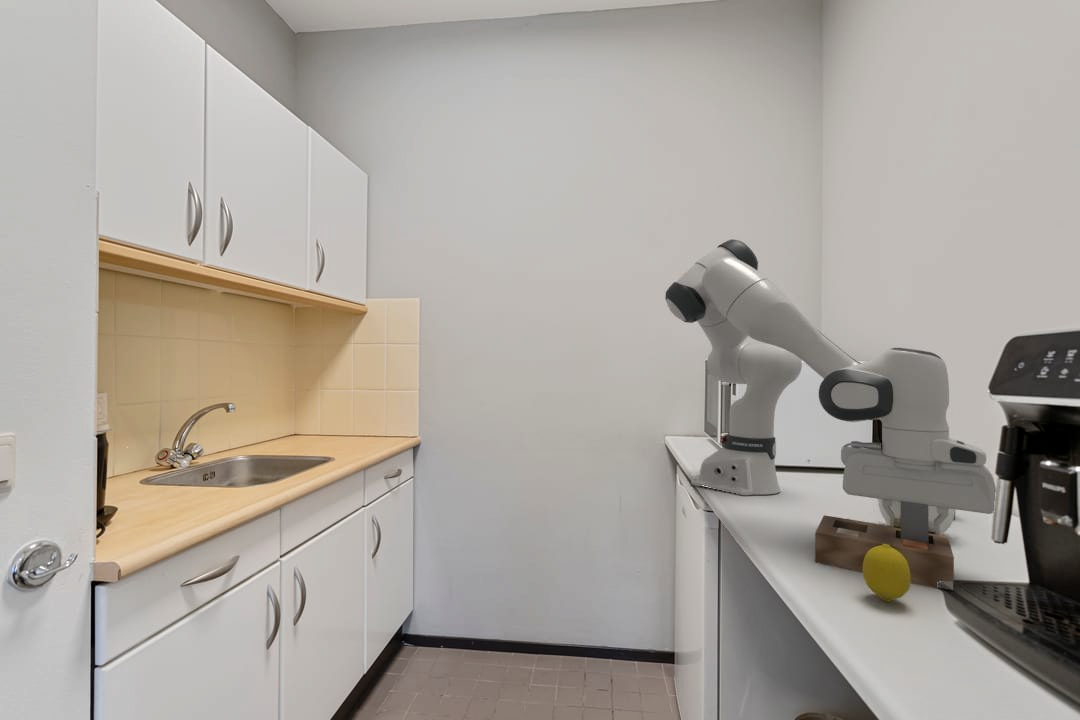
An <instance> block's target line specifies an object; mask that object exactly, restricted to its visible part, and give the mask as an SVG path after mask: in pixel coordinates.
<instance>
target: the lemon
mask: <svg viewBox="0 0 1080 720" xmlns="http://www.w3.org/2000/svg"><path fill="white" fill-rule="evenodd" d="M862 576H863V579H864V583H865V584H866V586H867V587H868V588H869V589H870V591H871V592H872V593H874V594H875V595H877V596H878V597H880V598H881V600H882V601H884V602H887V603H888V602H890V601H892V600H895V599H896V600H897V599H900V598H902V597H903V596H905V594H907V593H908V591H909V589H910V586H911V582H910V580H911V578H910V570H909V566H908V563H907V561H906V559H905V558H904V557H903V555H902V554H901V553H900V552H898V551H897V550H895V549H894V548H891V547H890V546H889V545H888V544H883V545H882V546H876V547H873V548H872V549H870V550H869V551H868V552H867V553H866V555H865V558H864V561H863V572H862Z"/></svg>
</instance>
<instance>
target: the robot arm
mask: <svg viewBox="0 0 1080 720" xmlns="http://www.w3.org/2000/svg"><path fill="white" fill-rule="evenodd" d="M758 268H759V261H758V259H757V256H756V254H755V253H754V251H753V249H751V248H750V247H749V246H748V245H747V244H746V243H745V242H743V241H741V240H740V239H739V240H737V239H732V238H731V239H728V240H726V241H724V242H722V243H721V244H719V245H718V246H717V248H715V249H714V250H711V251H710V252H709V253H707V254H706V255H704V256H703V257H702V258H700V259H699V260H697V261H696V262H695V263H694V265H692V266H691V267H690V268H689V269H687V271H685V272H684V274H682V275H681V277H679V278H678V279H677V281H674V282H673V283H672V284H670V286H669V287H668V289H667V290H666V291H665V297H664V298H665V302H666V305H667V307H668V308H669V311H670V312H671V314H673V316H675V317H676V318H677V319H679V320H681V321H682V322H684V323H689V324H693V323H695V322H697V324H698V325H699V326H700V328H701V329H702V330H703V332H704V334H705V336H706V337H707V339H708V341H709V343H710V345H711V348H712V350H711V351H710V352H709V354H708V356H707V361H706V368H707V371H708V374H709V375H710V377H711V378H712V379H714V380H716V381H719V382H723V383H727V384H729V385H730V384H732V385H733V384H735V385H746V389H745V391H744V394H743V396H742V397H741V398H739V399H737V400H735V401H734V402H733V403H732V404H731V405H730V407H729V411H728V412H729V416H728V417H729V428H728V429H729V431H728V433H726V434H724V435H723V436H722V437H721V438H720V443H721V446H722V447H721V448H719V449H718V450H716V451H715V452H714V453H712V454H711V455H709V456H708V457H706V458H705V459H704V460H703V461H702V463H701V465H700V469H699V474H698V475H695V476H692V478H691V479H690V483H691V485H692V486H695V487H700V486H702V485H704V486H708V487H711V488H715V489H719V490H723V491H722V492H724V491H726V492H725V493H729V492H731V494H734V493H736V494H735V495H739V494H740V496H753V495H773V494H778V493H780V492H781V489H780V485H779V482H778V477H777V471H776V463H775V459H776V455H777V441H776V437H775V436H774V435H775V411H776V407H777V404H778V400H779V399H780V396H781V395H782V394H783V391H785V389H786V388H787V387H788V386H789V385H791V384H792V383H794V382H795V381H796V380H797V379H798V378H799V376H800V374H801V372H802V367H803V366H802V365H803V362H804V363H805V364H806V365H807V366H808V367H810V368H811V369H812V370H813V371H814V372H815V373H816V374H818V375H819V376H820V377H821V378H823V380H822V381H821V383H820V384H819V388H818V399H819V403H820V405H821V407H822V408H823V409H824V411H825V412H826V413H827V414H828V415H830V416H831V417H833V418H834V419H837V420H840V421H843V422H846V423H847V422H849V423H859V422H864V421H874V420H875V421H877V420H880V422H881V423H882V427H881V429H882V430H881V432H882V433H881V434H882V435H881V441H882V442H870V441H869V442H864V441H863V442H862V441H857V440H856V441H855V440H854V441H851V442H848V443H845V444H844V445H843V446H842V448H841V450H840V460H841V463H842V464H843V465H844V469H843V470H844V471H843V475H842V489H843V491H844V492H845V494H847V495H850V496H855V497H863V498H870V499H871V498H872V499H876V500H878V499H882V506H883V508H884V509H885V511H886V513H887V514H888V516H889V517H890V525H889V526H890V527H893V528H900V529H901V516H897V515H895V514H894V513H893V511H892V509H891V508H890V507H892V501H899V502H901V501H904V502H912V503H919V504H927V505H928V506H935V507H937V513H938V514H939V515H938V516H937V517H936V519H935V520H934V521H930V520H928V533H930V534H936V535H939V524H940V525H941V523H942V522H943V521H944V520H945V519H946V518H947V516H948V508H949V509H955V511H956V510H957V511H965V512H972V513H978V514H979V513H980V514H987V515H991V514H993V513H994V512H993V511H994V501H995V492H996V493H997V488H996V483H995V479H994V477H993V475H992V473H991V471H990V470H989V468H987V467H986V466H985V464H986V463H987V454H986V452H985V450H983V449H982V448H979V447H977V446H974V445H971V444H969V443H965V442H963V441H961V440H957V439H952V438H950V426H949V425H948V422H947V410H948V407H949V405H950V388H949V387H950V385H949V375H948V369H947V365H946V363H945V360H944V359H943V358H941V356H939V355H937V353H934V352H931V351H926V350H919V349H914V348H913V349H912V348H908V347H907V348H906V347H904V348H903V347H893V348H889V349H887V350H886V351H885V352H884V353H882V354H879V355H878V356H876V357H874V358H871V359H869V360H867V361H864V362H859V361H858V360H856V359H854V358H853V357H851V356H850V355H849V354H847V353H846V352H845V351H844V350H843V349H842V348H840V347H839V346H838V345H836V343H834V342H833V341H831V340H830V338H828V337H827V336H826V335H825V334H824V333H822V332H820V331H819V330H818V329H817V328H816V327H814V325H813V324H812V323H811V322H810V321H809V320H808V319H807V318H806V317H805V315H804V314H803V313H802V312H801V311H800V310H799V309H798V308H797V306H796V305H795V304H794V303H793V302H792V301H791V300H790V299H789V297H788V296H787V295H786V294H785V293H784V292H783V291H782V290H781V289H780V288H779V287H778V286H777V285H776V284H775V283H774V282H772V281H771V280H770V279H769V278H768V277H767V276H765V275H764V274H763V273H761V272H760V271H758ZM748 337H749V338H751V339H753V340H755V341H758V342H761V343H749V342H747V341H746V340H747V338H748ZM802 361H803V362H802ZM719 490H718V491H719Z"/></svg>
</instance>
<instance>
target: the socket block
mask: <svg viewBox="0 0 1080 720" xmlns="http://www.w3.org/2000/svg"><path fill="white" fill-rule="evenodd" d="M814 537H815V538H814V540H815V541H814V552H815V553H814V562H815V561H816V562H815V563H818V562H820V563H819V564H822V563H824V564H823V565H827V564H828V566H832V565H833V567H837V568H841V569H842V568H843V569H847V570H851V571H856V572H861V573H863V561H864V558H865V555H866V553H867V552H868V551H869V550H870V549H872V548H873V547H876V546H882V545H883V544H888V545H889V546H890V547H891V548H894V549H895V550H897V551H898V552H900V553H901V554H902V555H903V557H904V558H905V559H906V561H907V563H908V566H909V570H910V578H911V580H910V583H913V584H918V585H922V586H927V587H933V588H935V589H936V588H937V582H939V581H954V582H955V580H954V579H955V566H954V565H955V556H954V553H953V550H952V549H953V548H952V546H951V542H950V540H949V535H948V534H944V533H942V534H939V535H936V534H930V533H928V543H924V542H918V541H912V540H906V539H901V529H900V528H893V527H890V525H889V524H888V525H886V524H880V523H873V522H867V521H863V520H862V521H861V520H858V519H857V520H856V519H850V518H844V517H838V516H837V517H836V516H830V515H825V514H824V515H823V516H822V518H821V520H820V522H819V524H818V526H817V528H816V530H815V533H814ZM937 589H938V588H937Z"/></svg>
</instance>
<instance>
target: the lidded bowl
mask: <svg viewBox="0 0 1080 720" xmlns="http://www.w3.org/2000/svg"><path fill="white" fill-rule="evenodd" d="M877 502H878V508H879V511H880V514H881V517H882V518H883V520H884V521H885V522H886V523H887V524H888V526H890V517H889V516H888V514H887V513H886V511H885V509H884V508H883V506H882V499H877ZM890 508H891V509H892V511H893V513H894V514H895V515H897V516H901V502H899V501H892V507H890ZM954 513H955V514H956V509H949V508H948V516H947V518H946V519H945V520H944V521H943V522H942V523H941V525H940V524H939V534H944V533H945V532H947V531H948V529H949V528H951V526H952V523H953V521H954ZM938 515H939V514H938V513H937V507H935V506H928V520H930V521H934V520H935V519H936V517H937V516H938Z"/></svg>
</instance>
